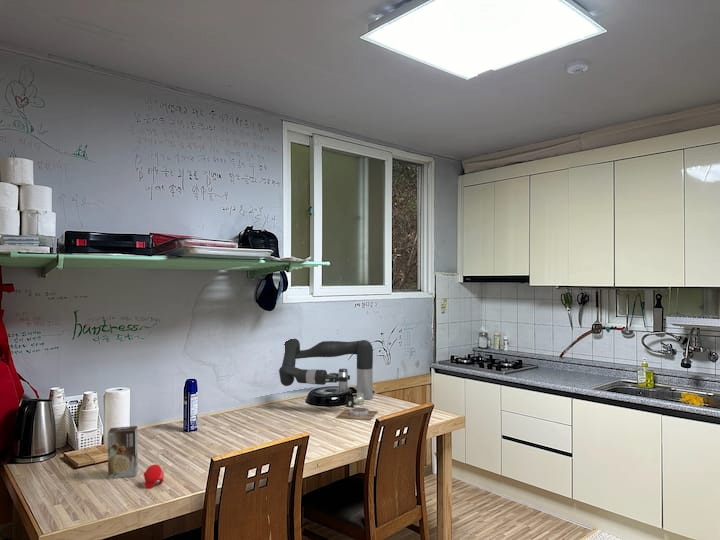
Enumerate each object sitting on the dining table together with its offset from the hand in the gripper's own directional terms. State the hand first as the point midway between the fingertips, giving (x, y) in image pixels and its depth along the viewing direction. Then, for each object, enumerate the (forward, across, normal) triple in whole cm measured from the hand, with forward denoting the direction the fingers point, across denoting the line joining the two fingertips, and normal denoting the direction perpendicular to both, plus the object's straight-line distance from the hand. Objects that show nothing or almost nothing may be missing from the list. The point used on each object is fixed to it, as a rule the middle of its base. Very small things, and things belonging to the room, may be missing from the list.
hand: (348, 378), depth 255 cm
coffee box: (-56, -93, +19) cm, 111 cm away
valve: (-1, +19, +19) cm, 27 cm away
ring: (+6, 0, +18) cm, 19 cm away
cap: (-40, -98, +19) cm, 108 cm away
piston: (-3, 0, +6) cm, 7 cm away
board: (+5, 0, +19) cm, 19 cm away
